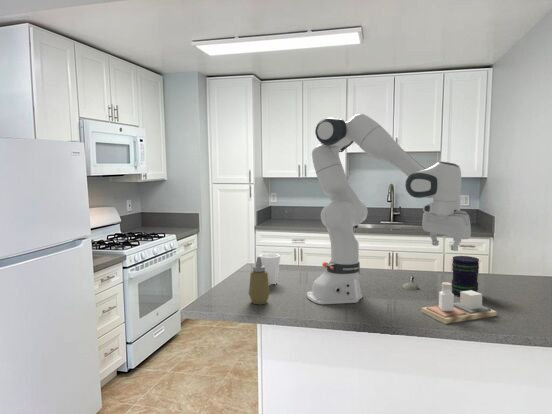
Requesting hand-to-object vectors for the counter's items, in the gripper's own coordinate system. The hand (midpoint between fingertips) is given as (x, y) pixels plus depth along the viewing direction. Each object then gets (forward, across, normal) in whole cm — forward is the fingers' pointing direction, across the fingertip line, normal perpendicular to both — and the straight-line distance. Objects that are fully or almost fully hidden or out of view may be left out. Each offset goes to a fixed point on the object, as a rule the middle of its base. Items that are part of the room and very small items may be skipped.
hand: (444, 247), depth 141 cm
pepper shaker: (+22, -3, +1) cm, 22 cm away
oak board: (+24, -3, -5) cm, 24 cm away
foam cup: (+25, +57, +47) cm, 78 cm away
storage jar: (+24, +14, -24) cm, 37 cm away
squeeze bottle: (+25, +33, +58) cm, 71 cm away
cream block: (+22, -3, -10) cm, 24 cm away
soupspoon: (+25, +35, -13) cm, 45 cm away
